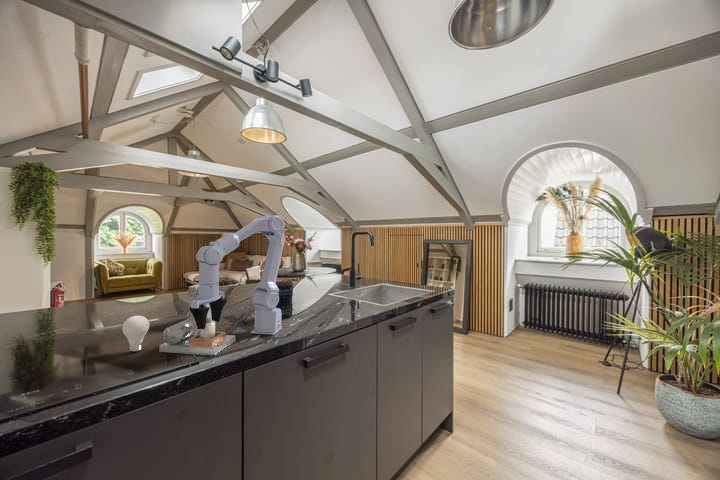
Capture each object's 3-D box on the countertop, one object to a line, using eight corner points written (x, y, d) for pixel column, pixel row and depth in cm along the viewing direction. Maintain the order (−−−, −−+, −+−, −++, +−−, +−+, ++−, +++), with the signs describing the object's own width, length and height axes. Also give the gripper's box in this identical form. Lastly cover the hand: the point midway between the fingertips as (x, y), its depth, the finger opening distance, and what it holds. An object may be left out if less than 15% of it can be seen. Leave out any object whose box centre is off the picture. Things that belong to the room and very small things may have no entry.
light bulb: (127, 357, 85) (127, 320, 85) (118, 352, 89) (118, 316, 88) (153, 350, 91) (153, 315, 90) (143, 345, 94) (143, 312, 94)
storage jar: (275, 313, 137) (276, 281, 137) (295, 314, 136) (296, 282, 135) (265, 319, 127) (266, 284, 127) (287, 320, 126) (288, 285, 126)
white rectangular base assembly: (235, 341, 100) (235, 319, 100) (214, 355, 88) (214, 330, 88) (186, 338, 102) (186, 316, 102) (159, 351, 90) (159, 327, 90)
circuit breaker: (224, 315, 131) (225, 282, 131) (204, 325, 117) (205, 287, 117) (208, 314, 132) (209, 281, 132) (187, 324, 118) (187, 286, 117)
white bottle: (217, 338, 96) (218, 317, 96) (208, 343, 92) (209, 321, 92) (206, 337, 97) (206, 316, 97) (196, 342, 93) (196, 319, 93)
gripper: (211, 279, 102) (210, 318, 102) (181, 286, 88) (181, 331, 88) (230, 280, 101) (229, 319, 101) (203, 287, 87) (203, 333, 87)
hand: (208, 325), depth 95 cm, fingers open, 7 cm apart
